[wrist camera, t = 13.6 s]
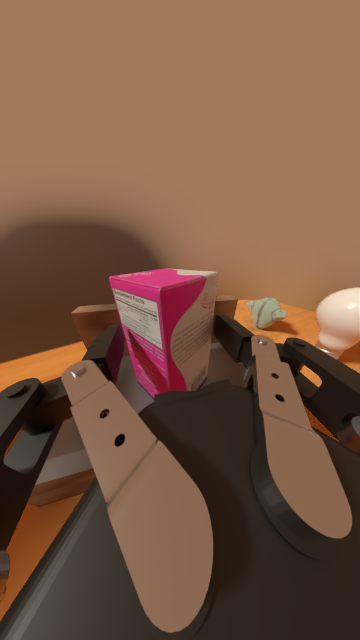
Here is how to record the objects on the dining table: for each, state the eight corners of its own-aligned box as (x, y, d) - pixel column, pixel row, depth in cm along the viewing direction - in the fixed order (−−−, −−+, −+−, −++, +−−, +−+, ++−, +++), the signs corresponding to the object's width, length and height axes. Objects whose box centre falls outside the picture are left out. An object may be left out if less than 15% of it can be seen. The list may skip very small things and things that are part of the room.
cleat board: (38, 506, 8) (-109, 453, 4) (101, 361, 20) (79, 306, 15) (287, 427, 12) (345, 356, 8) (220, 343, 23) (229, 295, 19)
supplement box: (171, 354, 18) (167, 266, 13) (208, 378, 15) (224, 271, 9) (134, 381, 14) (106, 273, 9) (172, 423, 11) (164, 286, 5)
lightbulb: (353, 361, 19) (416, 289, 14) (351, 386, 16) (435, 301, 11) (299, 341, 24) (332, 280, 18) (289, 357, 20) (326, 287, 15)
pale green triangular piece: (238, 322, 30) (245, 294, 27) (250, 318, 32) (258, 291, 29) (273, 340, 24) (287, 306, 21) (285, 334, 26) (300, 302, 22)
